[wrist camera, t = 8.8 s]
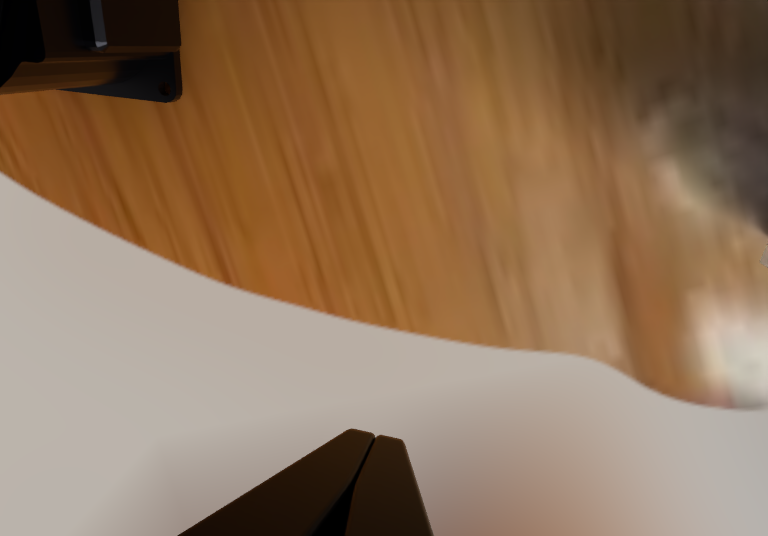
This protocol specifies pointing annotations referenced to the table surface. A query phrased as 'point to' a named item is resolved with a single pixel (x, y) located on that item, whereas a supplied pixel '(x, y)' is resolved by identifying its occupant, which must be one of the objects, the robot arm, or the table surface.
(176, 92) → the robot arm
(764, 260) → the block
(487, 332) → the table surface
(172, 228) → the table surface
